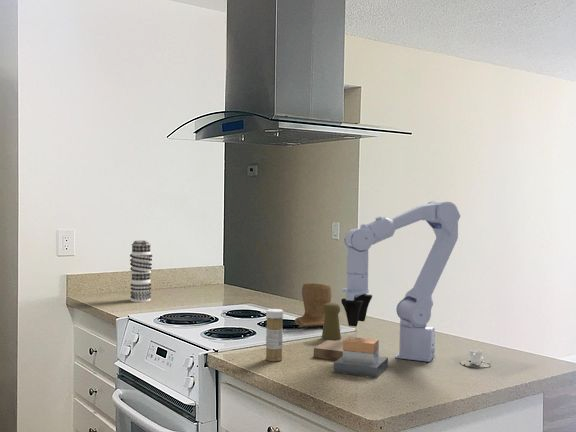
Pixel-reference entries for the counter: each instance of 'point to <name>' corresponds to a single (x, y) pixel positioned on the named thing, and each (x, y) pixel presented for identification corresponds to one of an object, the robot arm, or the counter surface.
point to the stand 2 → (361, 367)
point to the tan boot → (314, 304)
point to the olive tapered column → (331, 322)
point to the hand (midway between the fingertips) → (356, 323)
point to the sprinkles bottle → (274, 334)
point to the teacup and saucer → (475, 356)
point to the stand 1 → (329, 350)
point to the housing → (360, 350)
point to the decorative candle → (140, 271)
